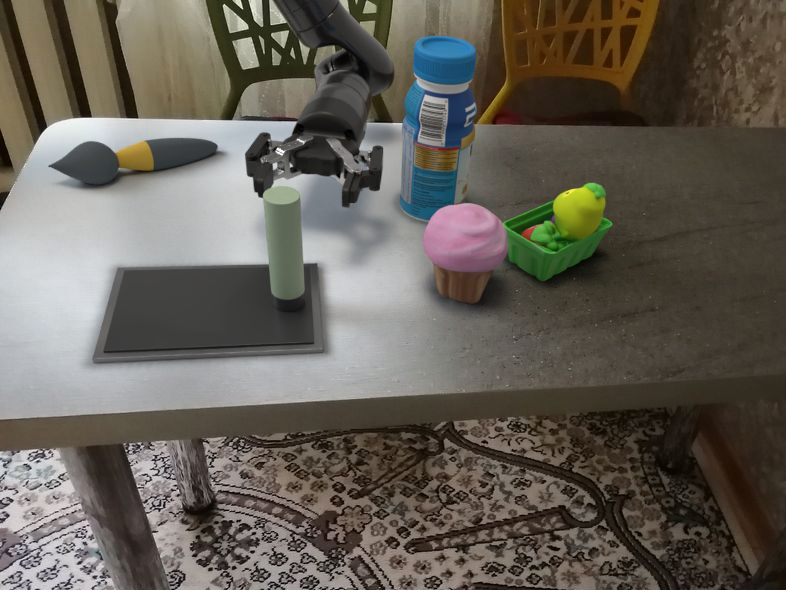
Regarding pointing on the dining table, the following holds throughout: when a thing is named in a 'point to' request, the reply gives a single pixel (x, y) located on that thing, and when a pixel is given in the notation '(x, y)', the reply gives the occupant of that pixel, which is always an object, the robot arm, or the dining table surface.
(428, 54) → the beverage bottle
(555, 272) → the fruit basket
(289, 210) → the mint green cylinder
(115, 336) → the tablet
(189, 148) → the paintbrush
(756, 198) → the dining table surface
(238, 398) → the dining table surface
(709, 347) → the dining table surface
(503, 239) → the cupcake
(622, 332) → the dining table surface
